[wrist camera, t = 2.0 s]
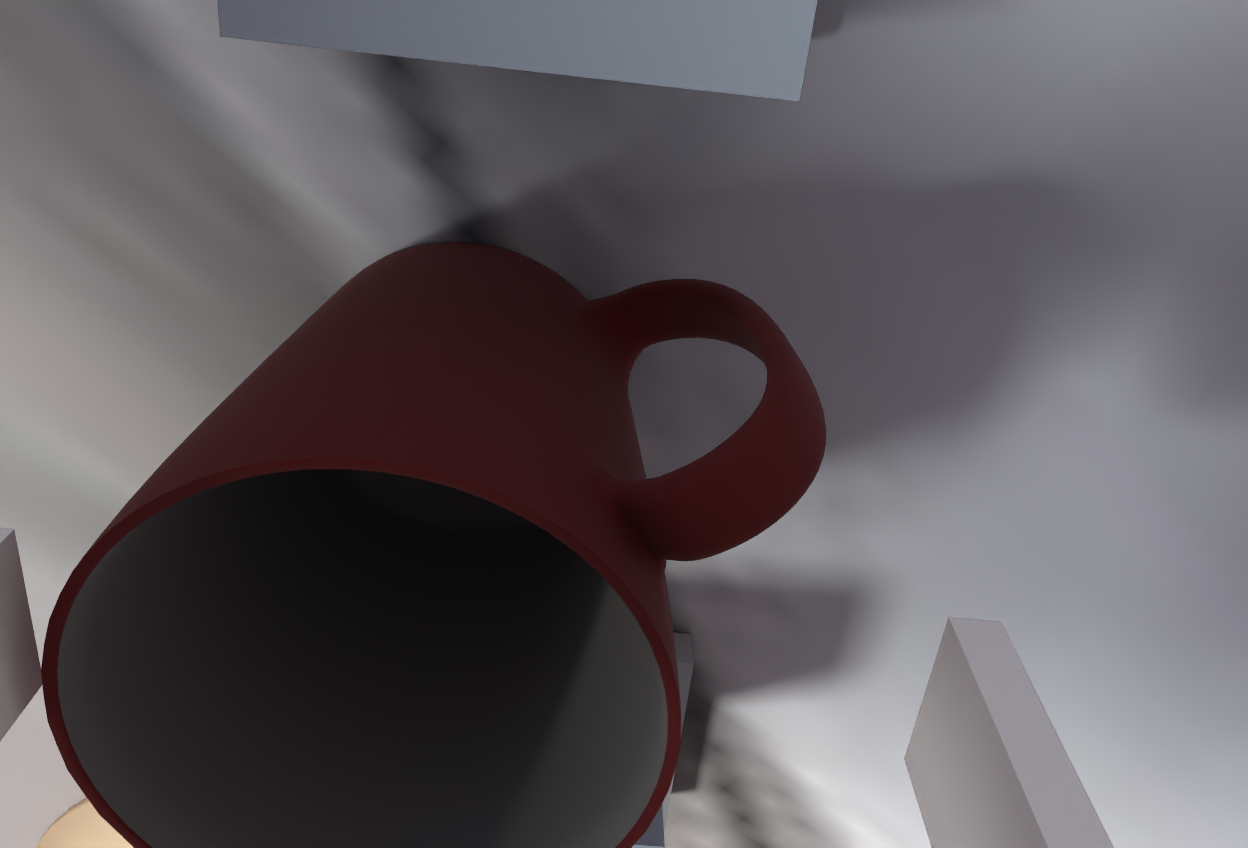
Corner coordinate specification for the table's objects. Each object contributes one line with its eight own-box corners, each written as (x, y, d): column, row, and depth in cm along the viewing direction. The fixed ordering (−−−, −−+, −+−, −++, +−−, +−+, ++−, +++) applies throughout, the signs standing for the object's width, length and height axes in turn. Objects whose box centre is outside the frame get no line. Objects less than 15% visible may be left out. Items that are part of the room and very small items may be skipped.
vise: (320, 854, 32) (248, 1093, 25) (265, -683, 16) (41, -1042, 10) (648, 877, 32) (656, 1116, 26) (903, -586, 17) (1076, -871, 10)
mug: (635, 38, 21) (652, 174, 11) (841, 374, 24) (993, 706, 14) (194, 342, 24) (-101, 662, 14) (434, 603, 27) (331, 1006, 17)
